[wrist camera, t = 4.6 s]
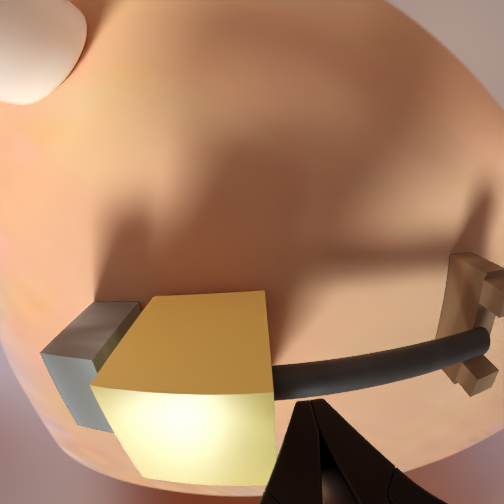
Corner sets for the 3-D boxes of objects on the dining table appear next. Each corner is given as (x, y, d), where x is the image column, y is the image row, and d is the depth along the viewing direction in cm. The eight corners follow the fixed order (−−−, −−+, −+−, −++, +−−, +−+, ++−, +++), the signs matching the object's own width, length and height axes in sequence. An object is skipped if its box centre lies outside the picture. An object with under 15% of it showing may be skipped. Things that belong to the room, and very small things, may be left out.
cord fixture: (471, 252, 11) (532, 283, 7) (451, 350, 12) (493, 396, 8) (88, 281, 11) (29, 327, 7) (120, 380, 13) (87, 440, 9)
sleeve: (264, 290, 11) (273, 392, 6) (270, 379, 12) (277, 484, 7) (154, 296, 11) (89, 385, 6) (175, 381, 12) (142, 477, 7)
